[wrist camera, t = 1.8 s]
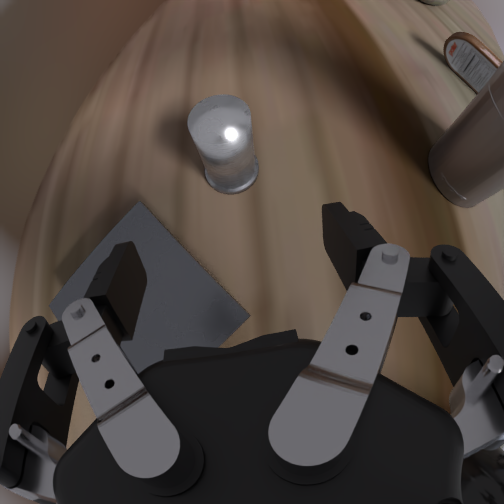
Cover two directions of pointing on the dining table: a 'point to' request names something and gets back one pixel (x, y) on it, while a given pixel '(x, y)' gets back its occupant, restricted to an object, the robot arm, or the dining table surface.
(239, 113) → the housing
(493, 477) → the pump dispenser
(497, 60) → the tin
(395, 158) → the dining table surface
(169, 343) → the stand
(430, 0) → the fruit
